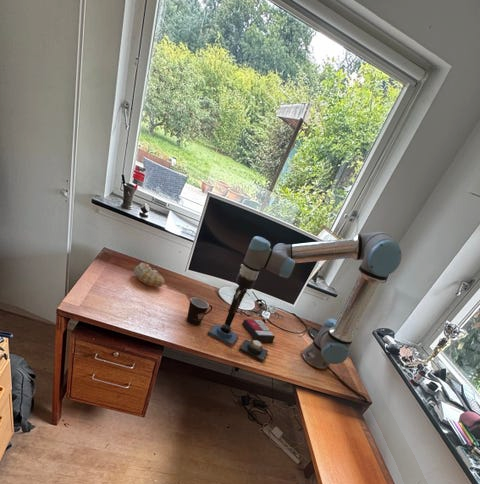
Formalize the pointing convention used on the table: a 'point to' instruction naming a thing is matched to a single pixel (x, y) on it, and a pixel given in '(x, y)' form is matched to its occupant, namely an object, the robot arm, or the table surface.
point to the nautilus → (148, 275)
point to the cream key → (256, 344)
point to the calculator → (258, 330)
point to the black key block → (253, 351)
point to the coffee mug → (197, 310)
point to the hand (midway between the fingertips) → (227, 324)
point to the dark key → (226, 328)
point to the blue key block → (223, 335)
